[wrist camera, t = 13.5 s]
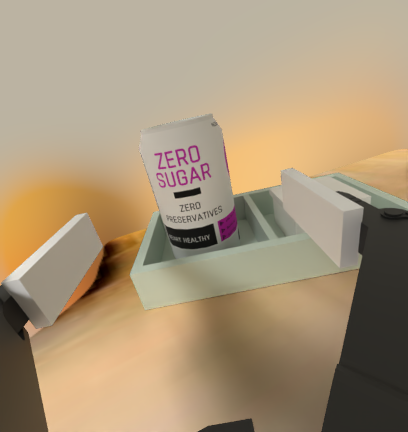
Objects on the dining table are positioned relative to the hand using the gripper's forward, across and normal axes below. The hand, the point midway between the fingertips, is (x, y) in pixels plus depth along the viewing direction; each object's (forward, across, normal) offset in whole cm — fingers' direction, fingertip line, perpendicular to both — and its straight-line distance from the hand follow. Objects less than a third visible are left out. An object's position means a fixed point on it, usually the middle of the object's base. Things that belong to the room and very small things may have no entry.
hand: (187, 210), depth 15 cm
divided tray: (+10, +7, -11) cm, 16 cm away
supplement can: (+10, 0, -10) cm, 14 cm away
